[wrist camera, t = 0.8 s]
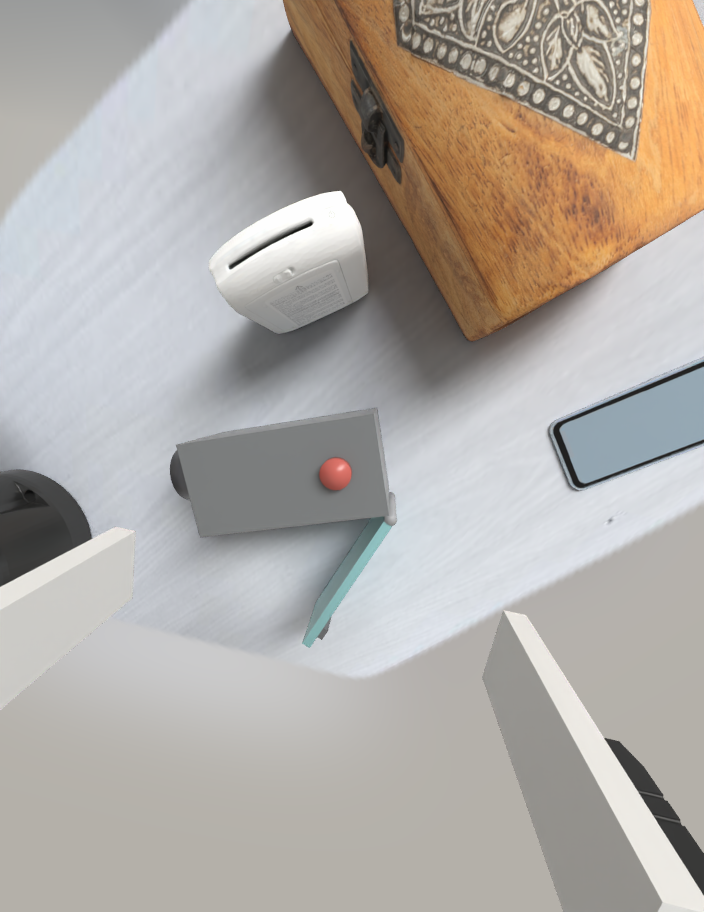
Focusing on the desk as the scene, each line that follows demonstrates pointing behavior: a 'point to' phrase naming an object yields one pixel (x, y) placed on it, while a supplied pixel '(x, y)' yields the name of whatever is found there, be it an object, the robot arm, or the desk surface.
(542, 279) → the wooden box
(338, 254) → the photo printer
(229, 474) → the camera body
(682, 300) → the desk surface
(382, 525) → the side door
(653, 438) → the smartphone
